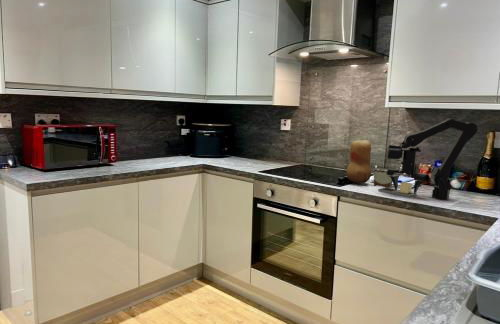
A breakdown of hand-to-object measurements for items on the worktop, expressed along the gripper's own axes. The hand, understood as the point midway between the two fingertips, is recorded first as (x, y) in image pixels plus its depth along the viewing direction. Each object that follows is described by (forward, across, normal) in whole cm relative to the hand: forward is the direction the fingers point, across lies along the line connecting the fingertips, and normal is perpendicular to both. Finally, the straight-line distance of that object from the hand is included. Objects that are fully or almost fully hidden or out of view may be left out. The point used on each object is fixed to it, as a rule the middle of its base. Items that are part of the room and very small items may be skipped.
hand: (405, 191), depth 182 cm
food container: (+3, +18, -14) cm, 23 cm away
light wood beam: (+2, 0, 0) cm, 2 cm away
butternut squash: (+3, +32, -10) cm, 33 cm away
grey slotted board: (+3, +4, 0) cm, 5 cm away
